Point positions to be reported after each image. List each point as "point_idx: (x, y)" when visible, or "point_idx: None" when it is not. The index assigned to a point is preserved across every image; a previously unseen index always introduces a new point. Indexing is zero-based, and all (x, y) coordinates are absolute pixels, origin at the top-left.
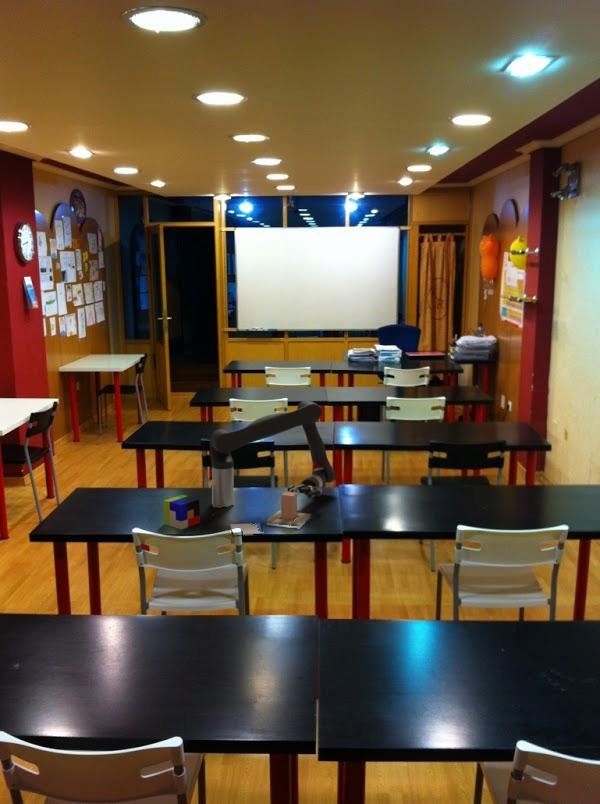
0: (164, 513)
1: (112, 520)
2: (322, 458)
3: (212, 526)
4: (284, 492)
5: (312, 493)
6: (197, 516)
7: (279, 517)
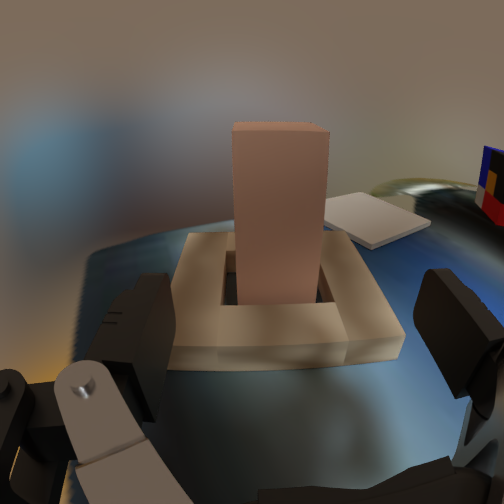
0: None
1: None
2: None
3: (455, 217)
4: (320, 128)
5: (104, 319)
6: (498, 202)
7: (320, 260)
